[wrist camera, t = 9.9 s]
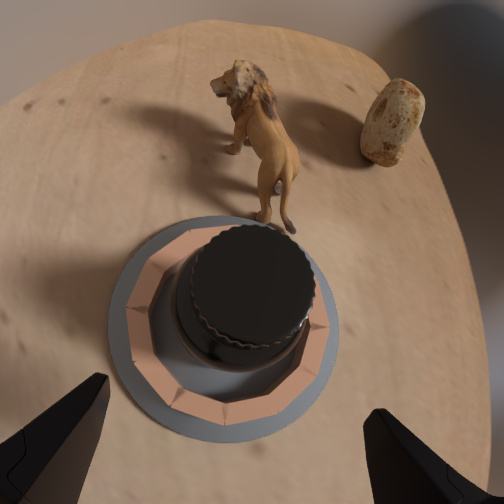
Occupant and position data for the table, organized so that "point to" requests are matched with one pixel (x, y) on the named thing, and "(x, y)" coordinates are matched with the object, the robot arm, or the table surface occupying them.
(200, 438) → the ring tray
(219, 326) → the supplement bottle
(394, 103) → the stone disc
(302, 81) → the table surface
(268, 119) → the lion figurine
